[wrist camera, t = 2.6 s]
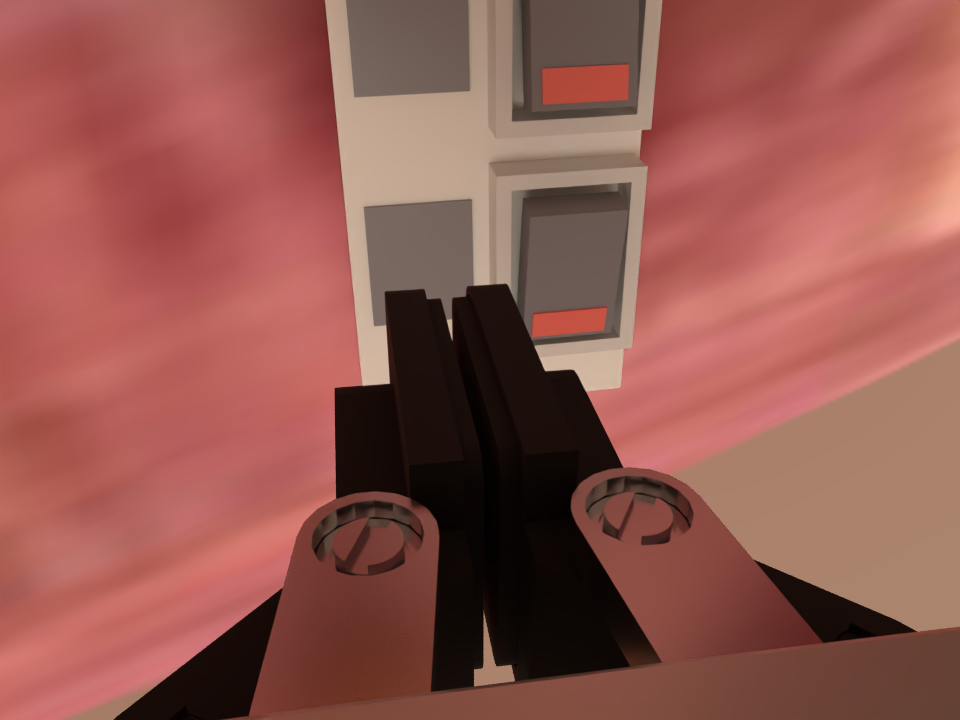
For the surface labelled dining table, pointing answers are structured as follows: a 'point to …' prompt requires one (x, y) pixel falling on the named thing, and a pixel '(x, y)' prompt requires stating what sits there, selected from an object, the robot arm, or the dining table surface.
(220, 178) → the dining table surface
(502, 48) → the power strip
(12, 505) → the dining table surface
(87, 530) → the dining table surface
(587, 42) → the rocker middle
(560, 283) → the rocker
